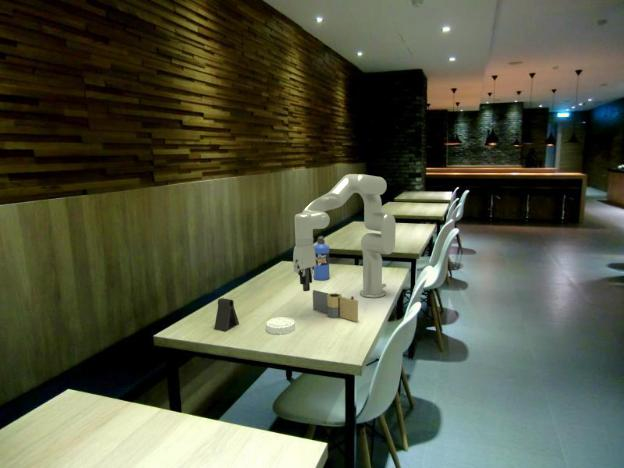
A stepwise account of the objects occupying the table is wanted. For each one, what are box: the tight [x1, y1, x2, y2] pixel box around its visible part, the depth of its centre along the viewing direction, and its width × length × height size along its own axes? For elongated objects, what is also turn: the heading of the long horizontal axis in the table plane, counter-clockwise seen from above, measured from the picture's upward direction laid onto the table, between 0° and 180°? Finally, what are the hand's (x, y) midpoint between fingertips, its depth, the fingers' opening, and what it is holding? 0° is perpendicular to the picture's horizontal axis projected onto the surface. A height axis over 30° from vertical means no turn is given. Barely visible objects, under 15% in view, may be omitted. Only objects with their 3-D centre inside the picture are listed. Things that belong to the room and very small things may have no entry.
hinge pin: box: [302, 268, 311, 292], centre depth 191 cm, size 3×3×12 cm
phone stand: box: [213, 297, 240, 332], centre depth 182 cm, size 9×6×12 cm, turn 151°
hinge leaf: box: [327, 292, 359, 323], centre depth 190 cm, size 6×16×9 cm, turn 47°
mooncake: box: [265, 316, 296, 335], centre depth 179 cm, size 12×12×4 cm
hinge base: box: [312, 289, 341, 319], centre depth 196 cm, size 6×16×9 cm, turn 47°
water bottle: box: [313, 235, 330, 282], centre depth 252 cm, size 9×9×25 cm
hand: (306, 283), depth 191 cm, fingers closed on hinge pin, 3 cm apart
